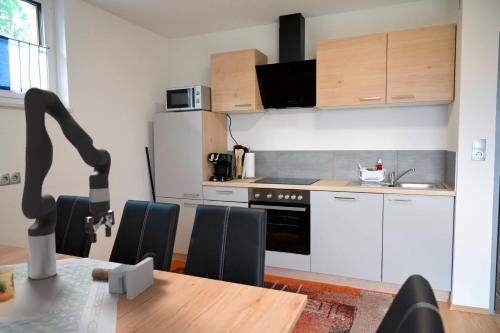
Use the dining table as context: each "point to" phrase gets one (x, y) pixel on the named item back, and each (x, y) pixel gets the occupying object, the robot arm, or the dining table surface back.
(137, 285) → the base plate
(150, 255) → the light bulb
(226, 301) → the dining table surface
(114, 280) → the sleeve block
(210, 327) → the dining table surface
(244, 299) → the dining table surface
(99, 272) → the dowel
